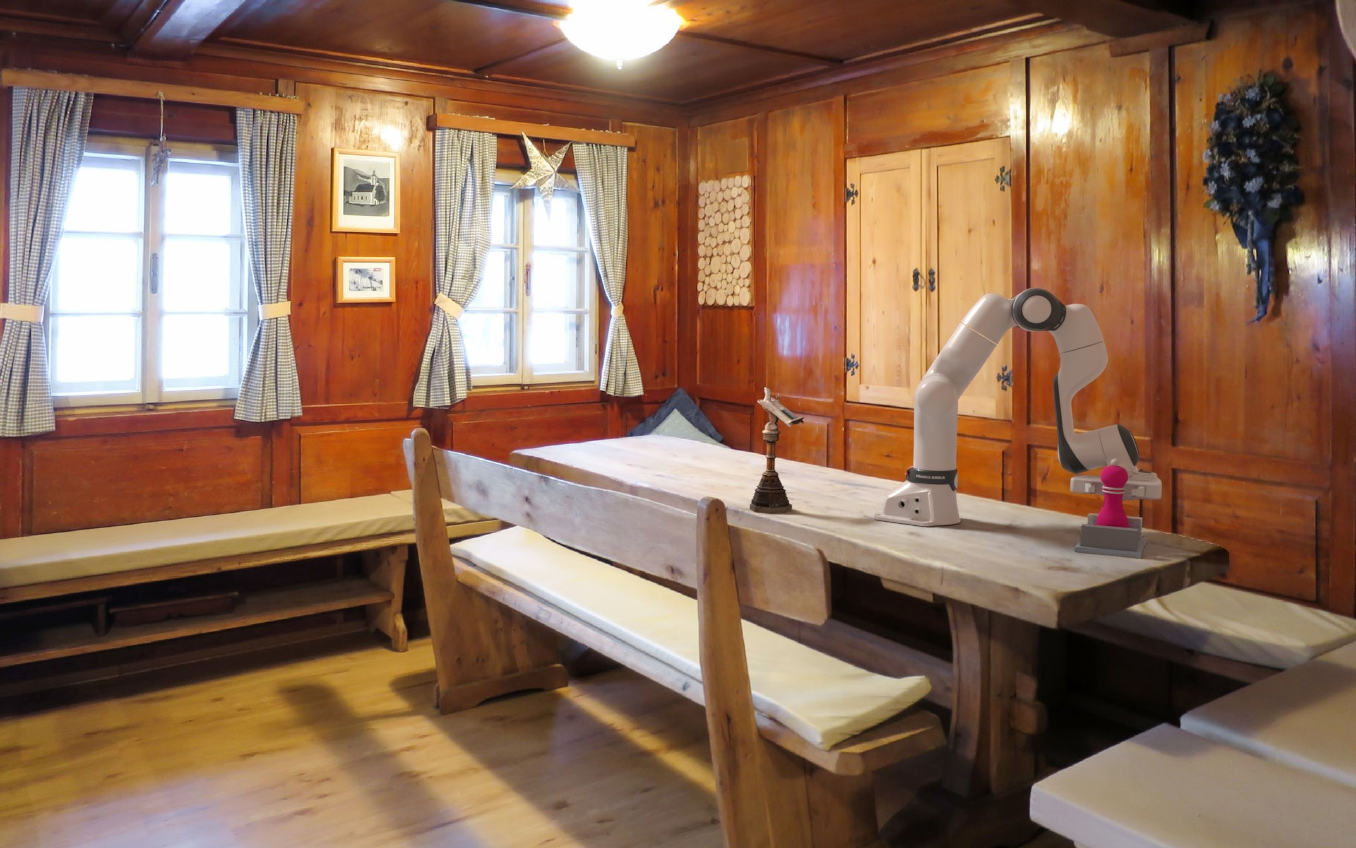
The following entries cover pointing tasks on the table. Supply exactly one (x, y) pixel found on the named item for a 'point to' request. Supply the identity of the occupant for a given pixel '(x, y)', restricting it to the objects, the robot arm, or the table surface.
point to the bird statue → (772, 460)
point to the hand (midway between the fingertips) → (1113, 491)
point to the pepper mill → (1113, 496)
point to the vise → (1110, 541)
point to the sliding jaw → (1133, 521)
